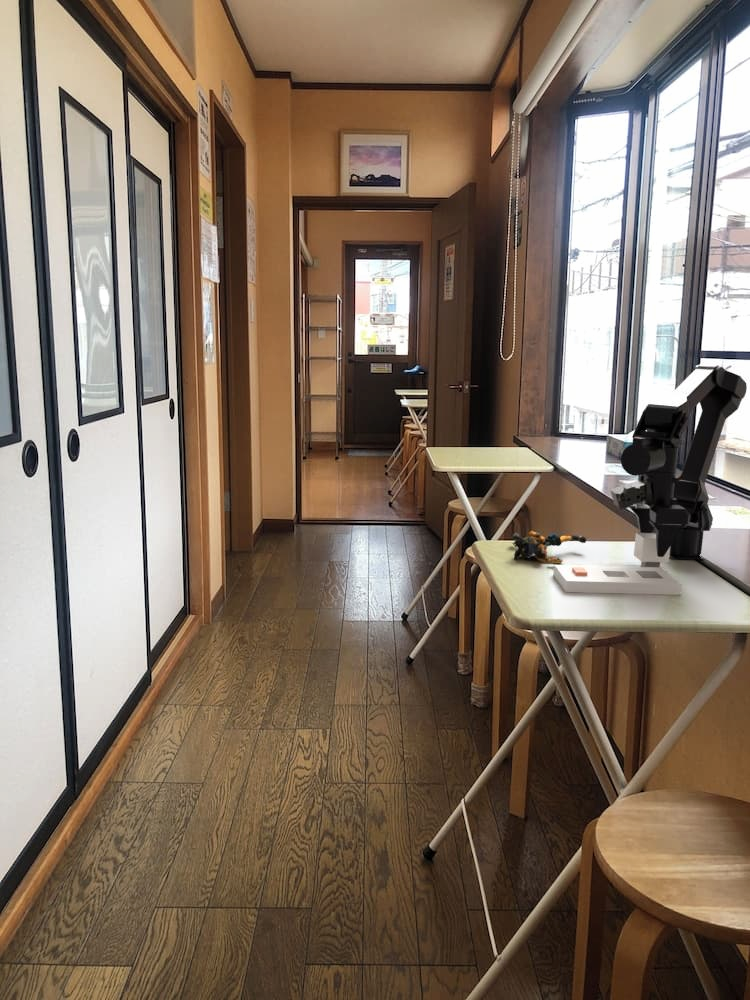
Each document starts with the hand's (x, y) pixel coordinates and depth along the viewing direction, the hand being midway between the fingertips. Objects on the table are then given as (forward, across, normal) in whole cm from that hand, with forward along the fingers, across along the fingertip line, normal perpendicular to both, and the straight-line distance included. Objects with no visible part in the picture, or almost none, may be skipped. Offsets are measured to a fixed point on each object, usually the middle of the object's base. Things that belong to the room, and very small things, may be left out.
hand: (652, 550), depth 156 cm
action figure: (+4, -7, -19) cm, 20 cm away
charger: (+4, 0, 0) cm, 4 cm away
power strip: (+4, +11, -10) cm, 15 cm away
